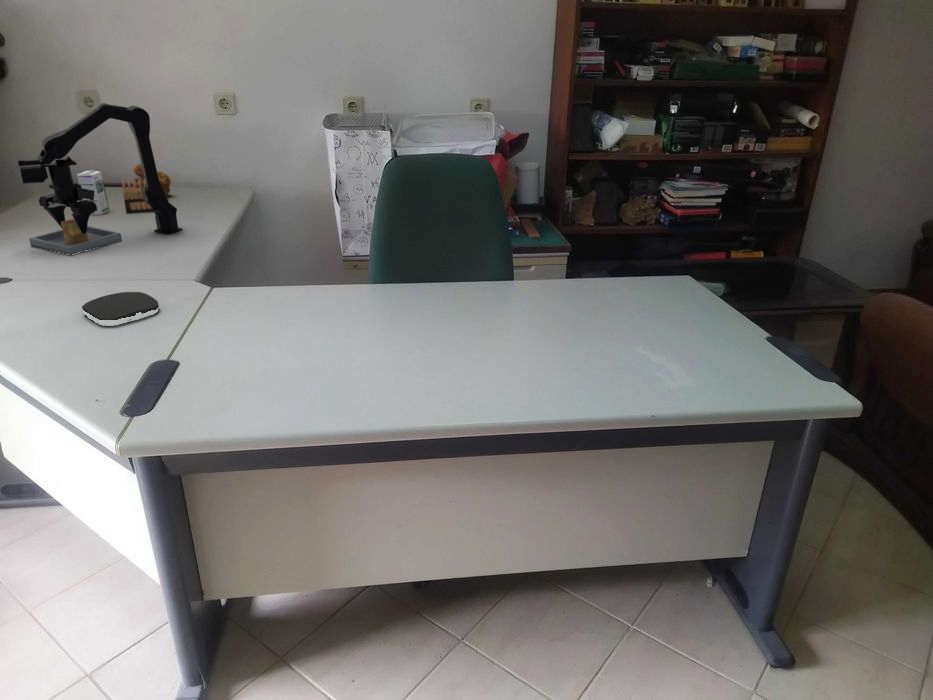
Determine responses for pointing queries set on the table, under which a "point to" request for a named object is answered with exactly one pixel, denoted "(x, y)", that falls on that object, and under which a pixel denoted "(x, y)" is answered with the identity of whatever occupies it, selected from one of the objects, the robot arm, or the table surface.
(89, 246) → the tray
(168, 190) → the stuffed squirrel
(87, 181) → the syrup box
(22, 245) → the table surface
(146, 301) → the media streaming box
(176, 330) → the table surface
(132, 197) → the ammunition clip
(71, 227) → the block
